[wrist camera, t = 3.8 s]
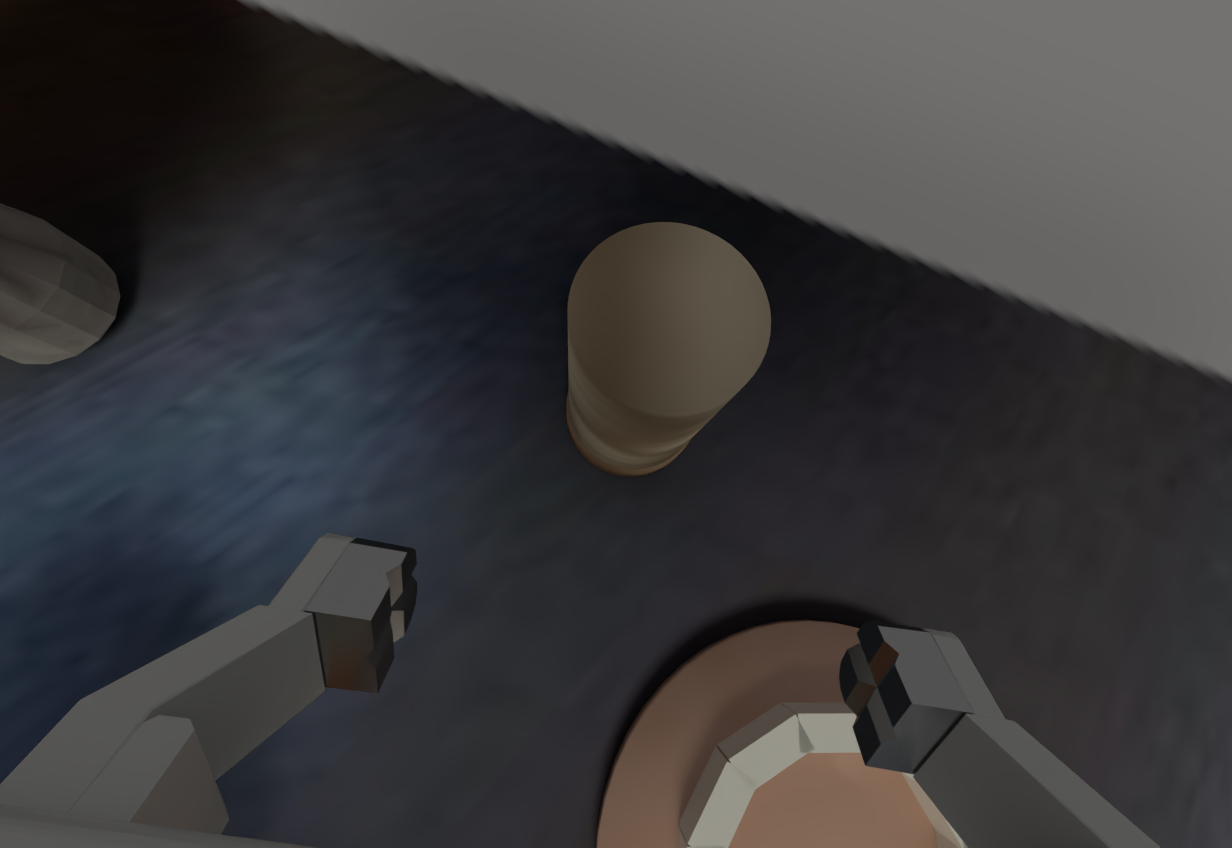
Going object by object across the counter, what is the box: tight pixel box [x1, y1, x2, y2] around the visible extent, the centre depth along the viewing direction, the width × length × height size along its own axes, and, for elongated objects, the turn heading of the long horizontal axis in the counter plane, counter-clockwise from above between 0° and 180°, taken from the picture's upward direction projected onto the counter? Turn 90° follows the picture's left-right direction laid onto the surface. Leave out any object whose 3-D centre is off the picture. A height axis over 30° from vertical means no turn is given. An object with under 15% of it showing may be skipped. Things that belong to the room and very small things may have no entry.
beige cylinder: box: [566, 222, 771, 478], centre depth 18 cm, size 5×5×10 cm
